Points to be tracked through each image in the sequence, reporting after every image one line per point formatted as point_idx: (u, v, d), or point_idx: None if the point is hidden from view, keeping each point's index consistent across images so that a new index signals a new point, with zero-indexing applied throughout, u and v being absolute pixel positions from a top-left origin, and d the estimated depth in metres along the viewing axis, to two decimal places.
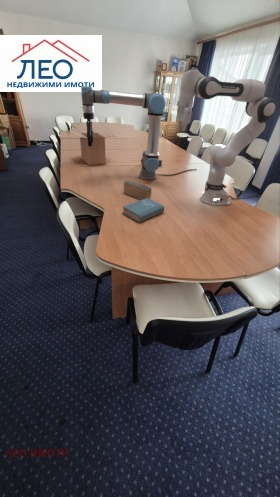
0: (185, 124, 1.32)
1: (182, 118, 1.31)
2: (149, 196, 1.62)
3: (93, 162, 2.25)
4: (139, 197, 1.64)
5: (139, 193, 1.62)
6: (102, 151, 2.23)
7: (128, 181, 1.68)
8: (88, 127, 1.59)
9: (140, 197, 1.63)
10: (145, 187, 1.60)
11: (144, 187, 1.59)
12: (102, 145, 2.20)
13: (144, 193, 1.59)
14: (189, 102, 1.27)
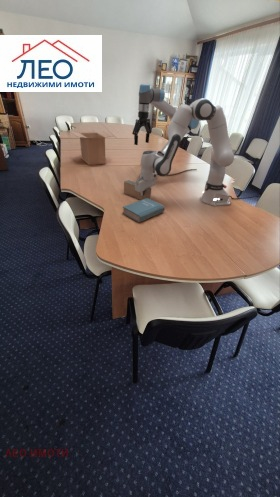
0: None
1: None
2: (149, 196, 1.62)
3: (93, 162, 2.25)
4: (139, 197, 1.64)
5: (139, 193, 1.62)
6: (102, 151, 2.23)
7: (128, 181, 1.68)
8: None
9: (140, 197, 1.63)
10: None
11: None
12: (102, 145, 2.20)
13: (144, 193, 1.59)
14: (143, 176, 1.51)
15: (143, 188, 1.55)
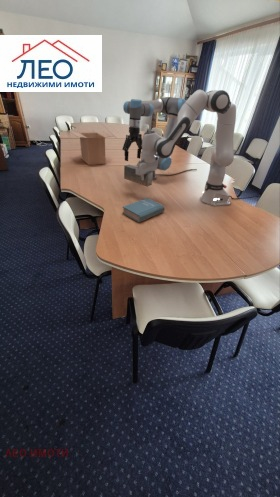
0: (142, 175, 1.50)
1: None
2: (150, 180, 1.55)
3: (93, 162, 2.25)
4: (140, 182, 1.57)
5: (140, 177, 1.55)
6: (102, 151, 2.23)
7: (129, 165, 1.61)
8: None
9: (141, 182, 1.56)
10: None
11: None
12: (102, 145, 2.20)
13: (146, 177, 1.52)
14: (144, 158, 1.44)
15: (145, 171, 1.48)
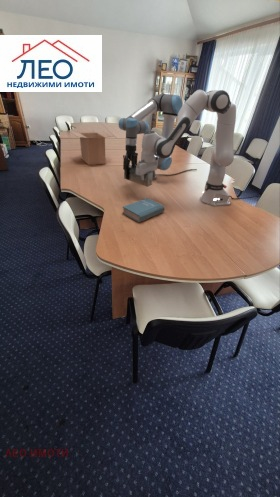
0: (142, 175, 1.50)
1: None
2: (150, 180, 1.55)
3: (93, 162, 2.25)
4: (140, 182, 1.57)
5: (140, 177, 1.55)
6: (102, 151, 2.23)
7: (129, 165, 1.61)
8: None
9: (141, 182, 1.56)
10: None
11: None
12: (102, 145, 2.20)
13: (146, 177, 1.52)
14: (144, 158, 1.44)
15: (145, 171, 1.48)
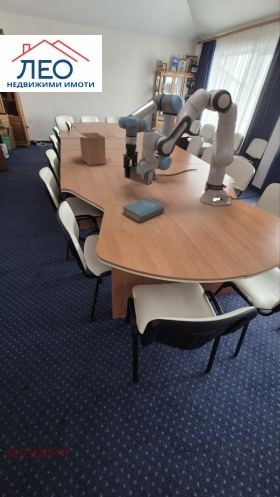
0: (141, 174, 1.48)
1: None
2: (151, 179, 1.55)
3: (93, 162, 2.25)
4: (140, 180, 1.56)
5: (140, 176, 1.55)
6: (102, 151, 2.23)
7: (129, 164, 1.60)
8: None
9: (141, 181, 1.56)
10: None
11: None
12: (102, 145, 2.20)
13: (146, 176, 1.51)
14: (145, 157, 1.43)
15: (145, 170, 1.48)
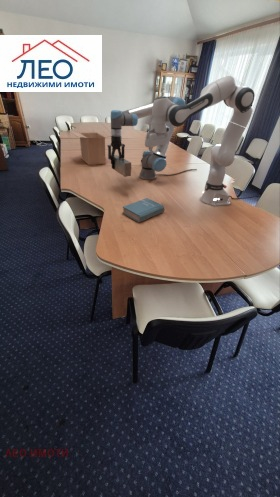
0: (150, 148, 1.35)
1: None
2: (129, 171, 1.60)
3: (93, 162, 2.25)
4: (120, 171, 1.63)
5: (120, 167, 1.62)
6: (102, 151, 2.23)
7: (115, 155, 1.69)
8: None
9: (121, 172, 1.63)
10: (126, 161, 1.58)
11: (124, 161, 1.58)
12: (102, 145, 2.20)
13: (123, 167, 1.57)
14: (155, 128, 1.30)
15: (155, 143, 1.34)
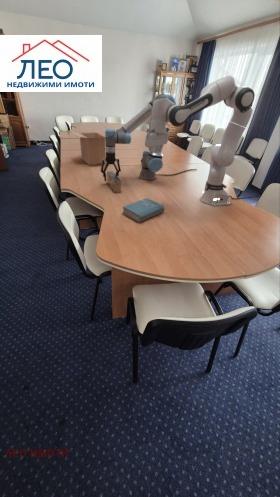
0: (150, 148, 1.35)
1: None
2: (119, 188, 1.71)
3: (93, 162, 2.25)
4: (112, 187, 1.76)
5: (111, 183, 1.74)
6: (102, 151, 2.23)
7: (110, 172, 1.82)
8: None
9: (112, 188, 1.75)
10: (117, 178, 1.71)
11: (115, 178, 1.70)
12: (102, 145, 2.20)
13: (113, 184, 1.70)
14: (155, 128, 1.30)
15: (155, 143, 1.34)
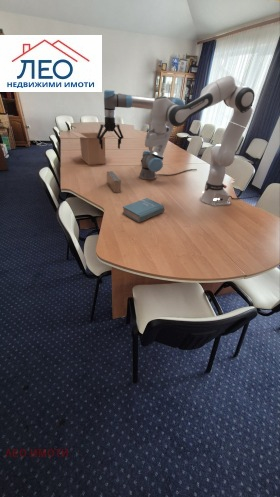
0: (150, 148, 1.35)
1: None
2: (119, 188, 1.71)
3: (93, 162, 2.25)
4: (112, 187, 1.76)
5: (111, 183, 1.74)
6: (102, 151, 2.23)
7: (110, 172, 1.82)
8: None
9: (112, 188, 1.75)
10: (117, 178, 1.71)
11: (115, 178, 1.70)
12: None
13: (113, 184, 1.70)
14: (155, 128, 1.30)
15: (155, 143, 1.34)
